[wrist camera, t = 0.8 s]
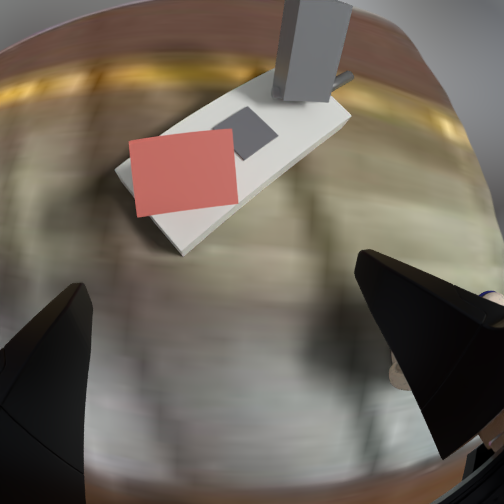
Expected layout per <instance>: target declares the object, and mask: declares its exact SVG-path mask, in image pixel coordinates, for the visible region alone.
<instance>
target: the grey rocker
mask: <svg viewBox="0 0 504 504" xmlns="http://www.w3.org/2000/svg"><path fill="white" fill-rule="evenodd" d="M352 7H353V6H352V5H349V4H346V3H344V2H341V1H338V0H285V4H284V11H283V18H282V24H281V31H280V38H279V45H278V52H277V59H276V65H275V72H274V79H273V87H272V89H271V96H272V98H273V99H282V100H283V101H305V102H325V103H329V99H330V96H331V92H332V88H333V84H334V80H335V77H336V73H337V69H338V65H339V61H340V57H341V53H342V49H343V45H344V41H345V37H346V33H347V29H348V24H349V20H350V16H351V12H352Z"/></svg>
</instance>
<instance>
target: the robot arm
mask: <svg viewBox="0 0 504 504" xmlns="http://www.w3.org/2000/svg"><path fill="white" fill-rule="evenodd" d="M354 274H355V278H356V280H357V282H358V285H359V287H360V289H361V291H362V294H363V296H364V298H365V300H366V303H367V305H368V307H369V310H370V312H371V314H372V315H373V317H374V319H375V321H376V323H377V325H378V326H379V328H380V330H381V332H382V334H383V336H384V338H385V339H386V341H387V343H388V345H389V347H390V349H391V351H392V353H393V355H394V357H395V359H396V361H397V363H398V364H399V366H400V368H401V370H402V372H403V374H404V376H405V378H406V381H407V383H408V385H409V387H410V389H411V391H412V393H413V395H414V397H415V399H416V401H417V403H418V406H419V408H420V410H421V412H422V415H423V417H424V419H425V421H426V424H427V426H428V428H429V430H430V433H431V435H432V437H433V440H434V442H435V444H436V447H437V449H438V452H439V454H440V456H441V458H442V460H444V459H446V458H447V457H449V456H450V455H451V454H453V453H454V452H456V451H457V450H458V449H460V448H461V447H463V446H464V445H465V444H467V443H468V442H469V441H471V440H472V439H473V438H474V437H476V436H477V435H479V436H480V438H481V440H482V441H483V443H482V444H480V445H479V446H478V447H477V448H476V449H474V450H473V451H472V452H471V453H469V454H468V455H467V460H466V465H465V470H464V474H463V478H462V482H460V483H459V484H458V485H456V486H455V487H454V488H452V489H451V490H449V491H448V492H447V493H445V494H444V495H442V496H441V497H439V498H438V499H436V500H435V501H433V502H432V503H430V504H504V306H503V305H500V304H498V303H495V302H493V301H491V300H488V299H486V298H483V297H481V296H478V295H476V294H474V293H471V292H469V291H467V290H465V289H462V288H460V287H458V286H456V285H454V286H453V284H451V283H449V282H447V281H444V280H442V279H440V278H438V277H435V276H433V275H431V274H429V273H426V272H424V271H422V270H419V269H417V268H415V267H412V266H410V265H408V264H405V263H403V262H401V261H398V260H396V259H393V258H391V257H389V256H386V255H384V254H381V253H379V252H376V251H374V250H371V249H367V250H361V251H360V252H359V253H358V257H357V262H356V266H355V271H354ZM92 315H93V306H92V302H91V299H90V297H89V294H88V292H87V289H86V286H85V285H84V283H72V284H70V285H69V286H68V287H67V288H66V289H65V290H64V291H62V292H61V293H60V294H59V295H58V296H57V297H56V298H55V299H53V300H52V301H51V302H50V303H49V304H48V305H47V306H46V307H45V308H43V309H42V310H41V311H40V312H39V313H38V314H37V315H36V316H35V317H34V318H33V319H32V320H31V321H30V322H29V323H27V324H26V325H25V326H24V327H23V328H22V329H21V330H20V331H19V332H18V333H17V334H16V335H15V336H14V337H13V338H12V339H11V340H10V341H9V342H8V343H7V344H6V345H5V346H4V348H2V349H1V350H0V504H86V499H85V484H84V475H83V474H84V418H85V402H86V390H87V379H88V370H89V362H90V353H91V334H92Z"/></svg>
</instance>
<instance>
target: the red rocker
mask: <svg viewBox="0 0 504 504" xmlns="http://www.w3.org/2000/svg"><path fill="white" fill-rule="evenodd" d="M129 149H130V160H131V170H132V180H133V188H134V196H135V204H136V211H137V218H138V217H144V216H151V215H157V214H164V213H171V212H178V211H186V210H193V209H201V208H208V207H216V206H225V205H233V204H239V203H238V192H237V180H236V168H235V156H234V144H233V132H232V129H218V130H207V131H197V132H187V133H179V134H171V135H164V136H157V137H150V138H144V139H138V140H132V141H129Z"/></svg>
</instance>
